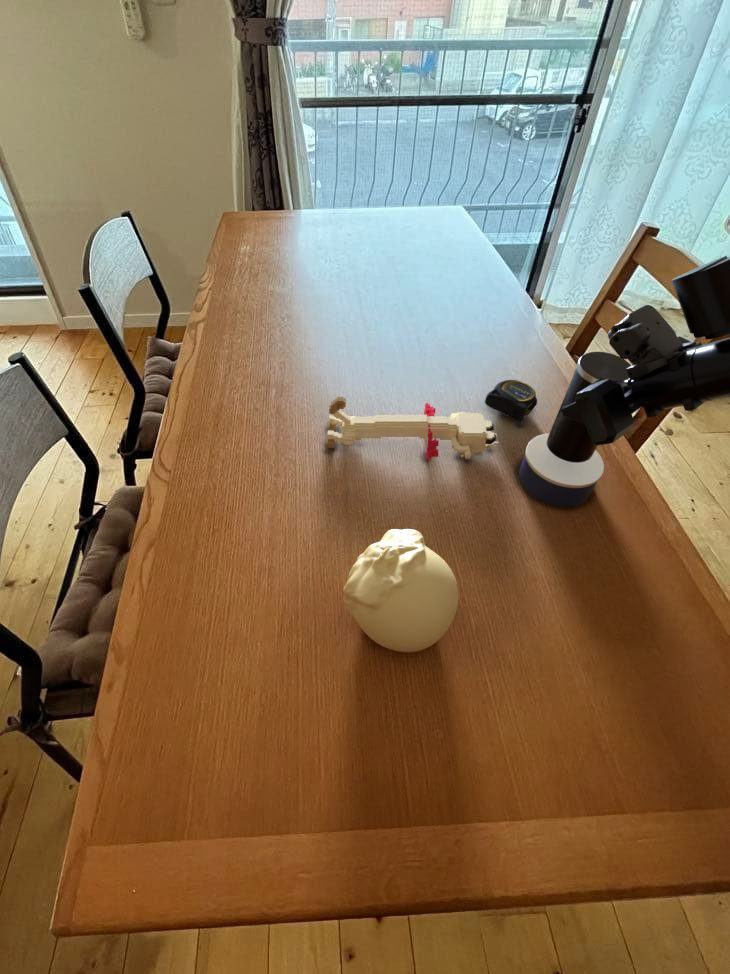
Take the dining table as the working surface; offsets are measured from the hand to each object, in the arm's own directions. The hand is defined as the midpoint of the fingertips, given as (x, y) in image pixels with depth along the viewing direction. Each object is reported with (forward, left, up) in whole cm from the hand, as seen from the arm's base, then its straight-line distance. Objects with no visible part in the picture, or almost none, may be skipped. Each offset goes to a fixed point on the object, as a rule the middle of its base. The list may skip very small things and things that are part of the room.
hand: (578, 403), depth 70 cm
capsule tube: (-1, +1, -7) cm, 7 cm away
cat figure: (+20, +3, -14) cm, 24 cm away
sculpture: (+10, +31, -14) cm, 35 cm away
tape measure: (+9, -12, -14) cm, 20 cm away
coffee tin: (-1, 0, -13) cm, 13 cm away
